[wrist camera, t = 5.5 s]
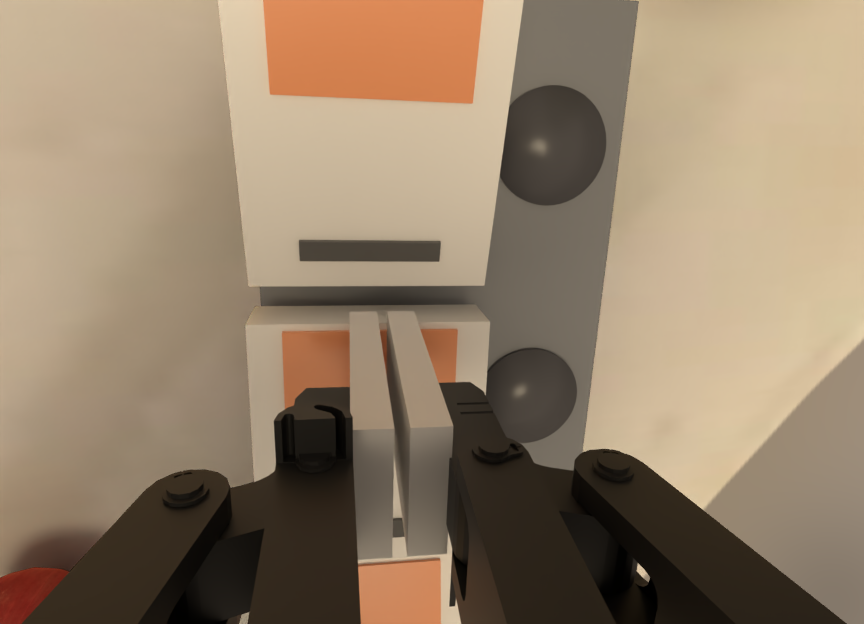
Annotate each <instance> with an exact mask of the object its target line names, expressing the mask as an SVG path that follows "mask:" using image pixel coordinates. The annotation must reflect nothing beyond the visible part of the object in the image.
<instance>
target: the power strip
mask: <svg viewBox="0 0 864 624" xmlns="http://www.w3.org/2000/svg"><path fill="white" fill-rule="evenodd" d="M638 3H639V1H630V0H524V2H523V9H522V16H521V23H520V31H519V38H518V45H517V52H516V60H515V67H514V74H513V82H512V89H511V96H510V103H509V111H508V118H507V125H506V132H505V140H504V147H503V154H502V161H501V169H500V176H499V183H498V191H497V198H496V205H495V212H494V220H493V227H492V234H491V241H490V249H489V256H488V263H487V270H486V278H485V285H484V286H260V297H261V306H349V305H465V304H475V305H476V306H477V307H478V308H479V309H480V310H481V312H482V313H483V314H484V315H485V316H486V317H487V319H488V320H489V321H490V333H489V350H488V366H487V383H486V397H487V399H488V401H489V404H490V405H491V407H492V409H493V413H495V415H496V417H497V419H498V421H499V423H500V426H501V428H502V430H503V432H504V434H505V436H506V437H507V438H510V439H513V440H515V441H517V442H518V443H520V444H522V445H523V446H524V447H525V448H526V450H527V451H528V452H529V454H530V456H531V458H532V460H533V462H534V463H536V464H539V465H542V466H547V467H552V468H559V469H565V470H572V471H573V470H574V462H575V459H576V458H577V457H578V456H579V454H581V453H582V451H583V443H584V435H585V427H586V419H587V411H588V403H589V395H590V387H591V379H592V371H593V363H594V355H595V347H596V339H597V331H598V323H599V315H600V307H601V299H602V291H603V283H604V275H605V267H606V259H607V251H608V243H609V235H610V227H611V219H612V211H613V203H614V195H615V187H616V179H617V171H618V163H619V155H620V147H621V139H622V131H623V123H624V115H625V107H626V99H627V91H628V83H629V75H630V67H631V59H632V51H633V43H634V35H635V27H636V19H637V11H638Z"/></svg>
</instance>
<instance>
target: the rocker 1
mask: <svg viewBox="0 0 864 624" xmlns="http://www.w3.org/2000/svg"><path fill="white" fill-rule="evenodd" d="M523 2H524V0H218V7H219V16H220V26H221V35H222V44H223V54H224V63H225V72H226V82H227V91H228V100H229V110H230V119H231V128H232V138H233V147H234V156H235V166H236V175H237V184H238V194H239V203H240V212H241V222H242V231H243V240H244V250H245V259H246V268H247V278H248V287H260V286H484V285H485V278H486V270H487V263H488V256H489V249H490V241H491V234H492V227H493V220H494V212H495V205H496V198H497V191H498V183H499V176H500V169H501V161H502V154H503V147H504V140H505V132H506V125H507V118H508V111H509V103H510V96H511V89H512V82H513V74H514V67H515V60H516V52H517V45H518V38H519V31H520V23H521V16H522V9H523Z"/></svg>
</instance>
